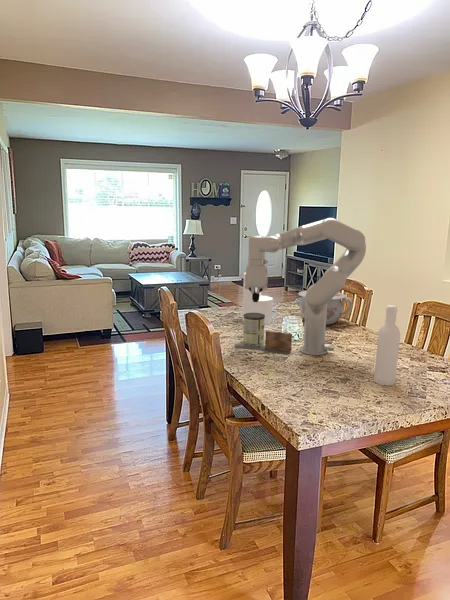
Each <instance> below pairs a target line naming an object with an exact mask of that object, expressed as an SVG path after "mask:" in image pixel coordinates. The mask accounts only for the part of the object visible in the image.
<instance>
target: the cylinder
mask: <svg viewBox="0 0 450 600" xmlns="http://www.w3.org/2000/svg"><path fill="white" fill-rule="evenodd" d="M245 274H246V271H245V272H244V273H243V284H242V285H243V287H242V289H243V290H242V291H243V292H242V316H241V317H242V318H241V321H242V322H243V323H244V314H246V313H261V314H264V315H265V319H264V326H266V325H270V324H272V323H273V307H274V305H273V304H274V298H273V297H272V296H268V295H262V291H261V292H260V293H259V300H258V302H253V300H252V292H251V291H250V290H248V289H245ZM255 292H257V287H255Z"/></svg>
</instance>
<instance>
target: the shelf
mask: <svg viewBox="0 0 450 600" xmlns="http://www.w3.org/2000/svg"><path fill="white" fill-rule="evenodd" d="M292 340H293V333H290V332H289V333H288V332H280V331H271V330H266V331H265V338H264V343H265V345H264V347H265V349H272V350H280V351H289V352H290V353H291V351H292V348H293V347H292Z"/></svg>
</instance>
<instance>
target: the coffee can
mask: <svg viewBox="0 0 450 600" xmlns="http://www.w3.org/2000/svg"><path fill="white" fill-rule="evenodd" d="M264 319H265V315H264V314H261V313H246V314H244V322H243V329H242V330H243V333H242V344H247V345H255V346H263V345H264V343H265V325H264Z"/></svg>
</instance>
